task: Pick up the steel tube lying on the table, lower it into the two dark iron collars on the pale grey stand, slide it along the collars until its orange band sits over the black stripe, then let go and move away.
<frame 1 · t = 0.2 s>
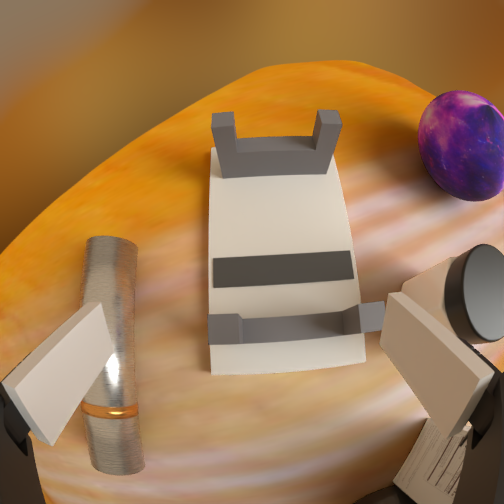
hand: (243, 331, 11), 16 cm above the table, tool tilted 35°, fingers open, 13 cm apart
collar stand: (281, 245, 29), on the table
jar: (422, 313, 26), on the table
steel tube: (106, 359, 23), point 3 cm above the table
supplement box: (433, 454, 20), on the table
decorative orb: (442, 175, 32), on the table
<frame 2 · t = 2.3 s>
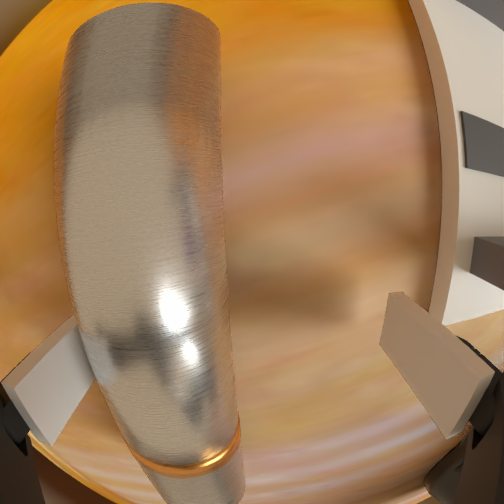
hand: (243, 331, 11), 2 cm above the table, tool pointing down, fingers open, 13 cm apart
steel tube: (159, 348, 10), point 3 cm above the table, tilted 69°, touching gripper
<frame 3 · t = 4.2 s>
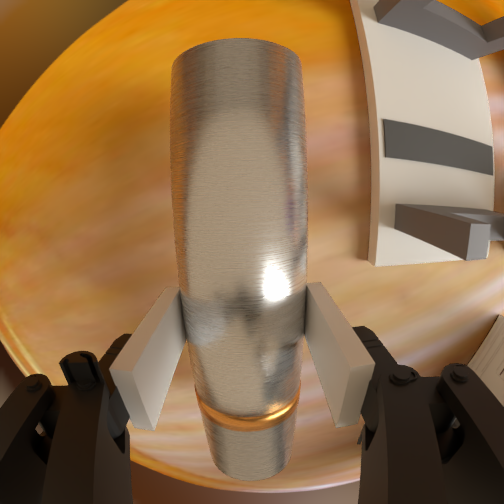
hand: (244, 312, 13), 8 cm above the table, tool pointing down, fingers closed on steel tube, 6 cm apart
collar stand: (436, 118, 18), on the table
steel tube: (244, 314, 13), point 8 cm above the table, tilted 21°, touching gripper
supplement box: (491, 347, 26), on the table
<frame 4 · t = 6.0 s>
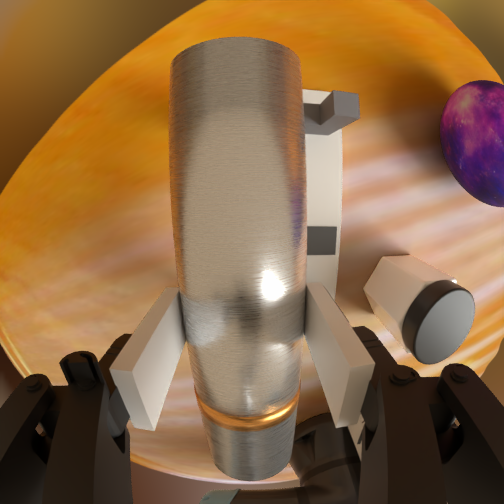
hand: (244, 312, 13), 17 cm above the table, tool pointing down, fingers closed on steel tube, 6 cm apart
collar stand: (268, 209, 29), on the table
jar: (392, 284, 31), on the table
steel tube: (243, 313, 13), point 17 cm above the table, tilted 20°, touching gripper
decorative orb: (456, 145, 27), on the table
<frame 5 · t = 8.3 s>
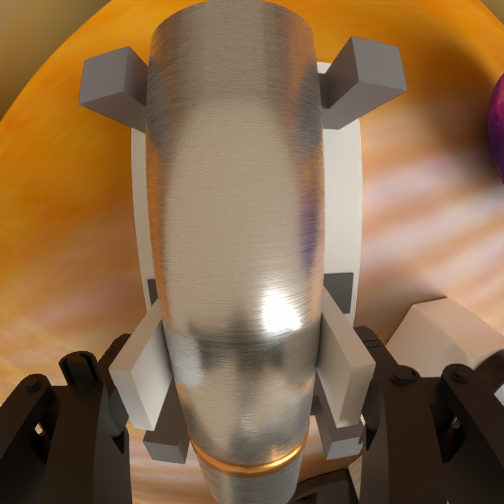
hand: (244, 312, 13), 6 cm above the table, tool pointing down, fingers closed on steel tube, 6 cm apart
collar stand: (249, 249, 19), on the table
jar: (422, 336, 21), on the table
steel tube: (243, 349, 11), point 9 cm above the table, tilted 26°, touching collar stand, gripper
supplement box: (390, 447, 26), on the table
decorative orb: (501, 146, 17), on the table
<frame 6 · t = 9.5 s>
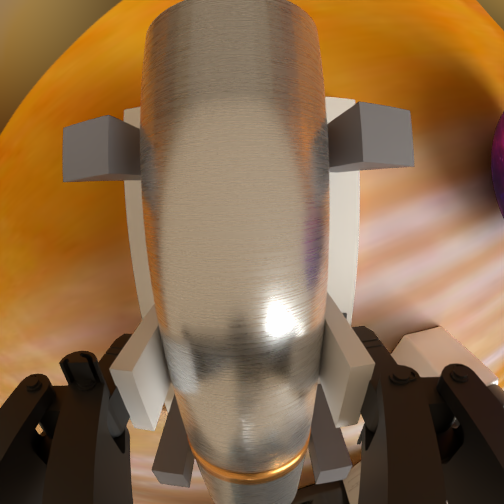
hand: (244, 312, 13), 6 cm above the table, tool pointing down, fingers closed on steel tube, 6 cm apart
collar stand: (245, 290, 19), on the table
jar: (413, 361, 22), on the table
steel tube: (243, 356, 10), point 9 cm above the table, tilted 24°, touching gripper
supplement box: (383, 458, 26), on the table
decorative orb: (502, 172, 17), on the table
when the fingers open (6 cm above the table, at t = 10.7 s): steel tube stays where it is, resting on collar stand.
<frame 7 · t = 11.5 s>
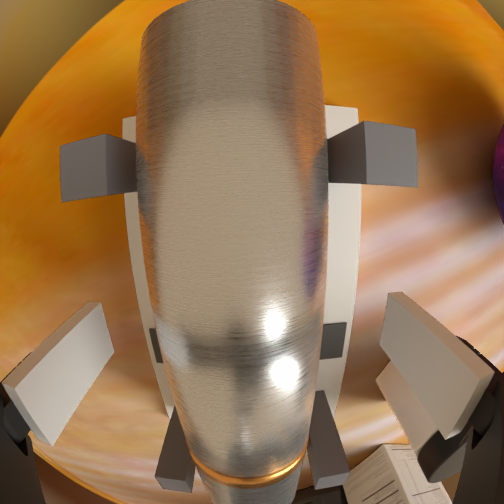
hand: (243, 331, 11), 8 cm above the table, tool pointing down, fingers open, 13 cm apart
collar stand: (246, 299, 19), on the table
jar: (412, 367, 22), on the table
steel tube: (241, 364, 10), point 9 cm above the table, tilted 26°, touching collar stand
supplement box: (381, 461, 26), on the table
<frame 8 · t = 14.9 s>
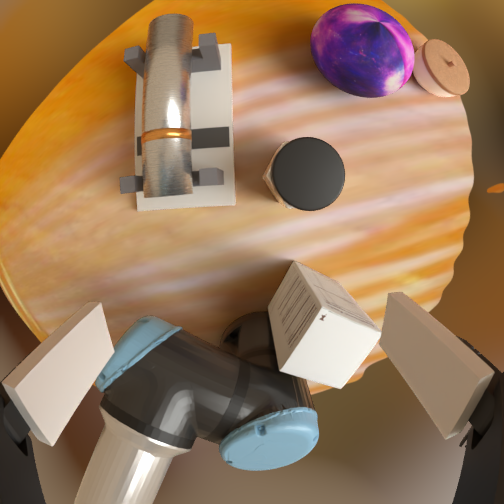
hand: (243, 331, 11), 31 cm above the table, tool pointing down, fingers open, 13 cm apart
collar stand: (183, 123, 37), on the table
jar: (292, 176, 40), on the table
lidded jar: (425, 77, 35), on the table
steel tube: (166, 99, 28), point 9 cm above the table, tilted 26°, touching collar stand
supplement box: (304, 294, 44), on the table
decorative orb: (345, 68, 35), on the table
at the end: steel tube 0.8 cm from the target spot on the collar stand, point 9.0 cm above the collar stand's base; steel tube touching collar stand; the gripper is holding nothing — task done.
